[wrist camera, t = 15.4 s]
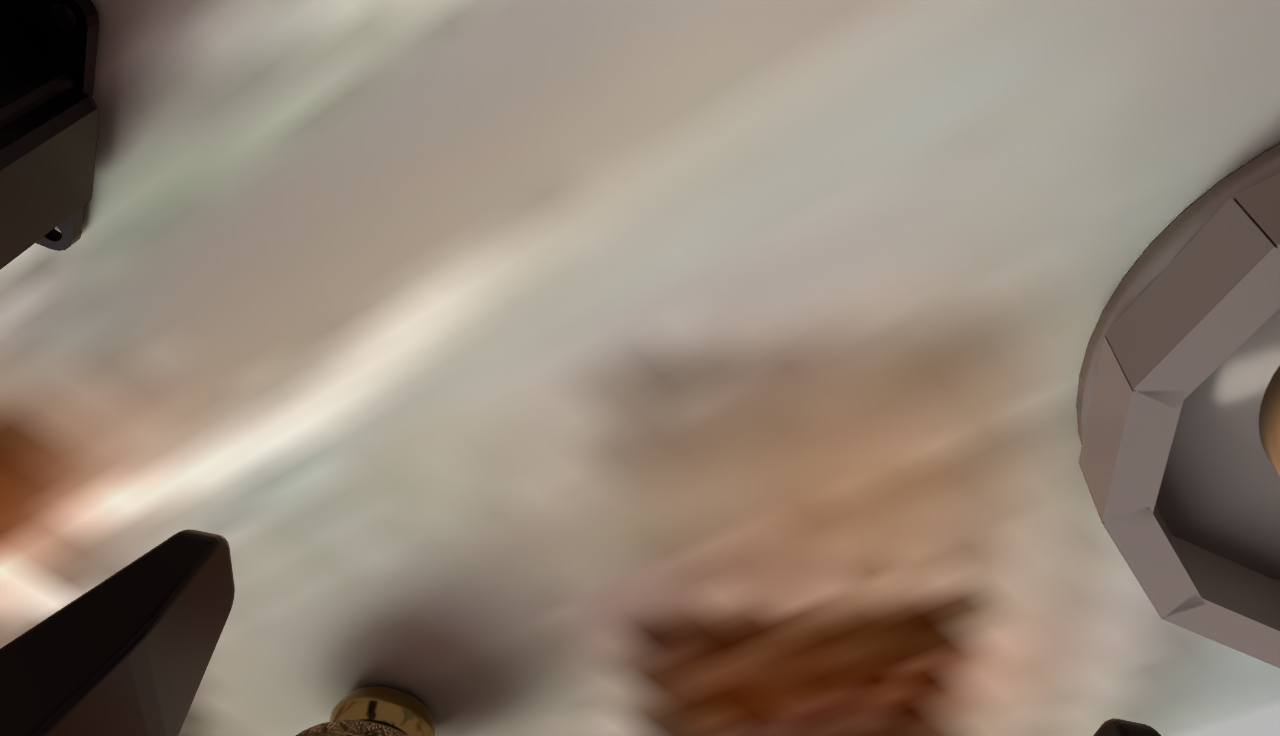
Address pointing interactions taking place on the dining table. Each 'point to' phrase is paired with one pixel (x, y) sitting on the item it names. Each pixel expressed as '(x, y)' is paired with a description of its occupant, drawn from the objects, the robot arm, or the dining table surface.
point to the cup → (376, 715)
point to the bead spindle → (1271, 421)
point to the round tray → (1194, 414)
